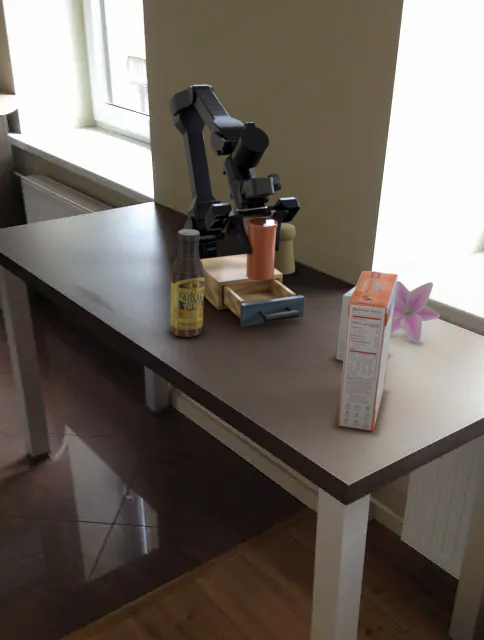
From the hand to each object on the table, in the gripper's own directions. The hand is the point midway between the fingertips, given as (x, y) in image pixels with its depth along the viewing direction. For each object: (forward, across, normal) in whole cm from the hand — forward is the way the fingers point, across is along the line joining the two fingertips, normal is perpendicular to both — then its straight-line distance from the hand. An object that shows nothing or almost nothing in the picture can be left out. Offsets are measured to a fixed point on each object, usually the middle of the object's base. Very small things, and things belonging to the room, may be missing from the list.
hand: (263, 252), depth 145 cm
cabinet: (0, 0, +19) cm, 19 cm away
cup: (+3, 0, +5) cm, 6 cm away
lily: (+22, +23, -3) cm, 32 cm away
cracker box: (+38, -1, -19) cm, 43 cm away
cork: (-7, +16, +26) cm, 31 cm away
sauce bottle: (+12, -17, +8) cm, 22 cm away
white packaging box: (+27, +9, -8) cm, 29 cm away
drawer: (+9, 0, +8) cm, 13 cm away
